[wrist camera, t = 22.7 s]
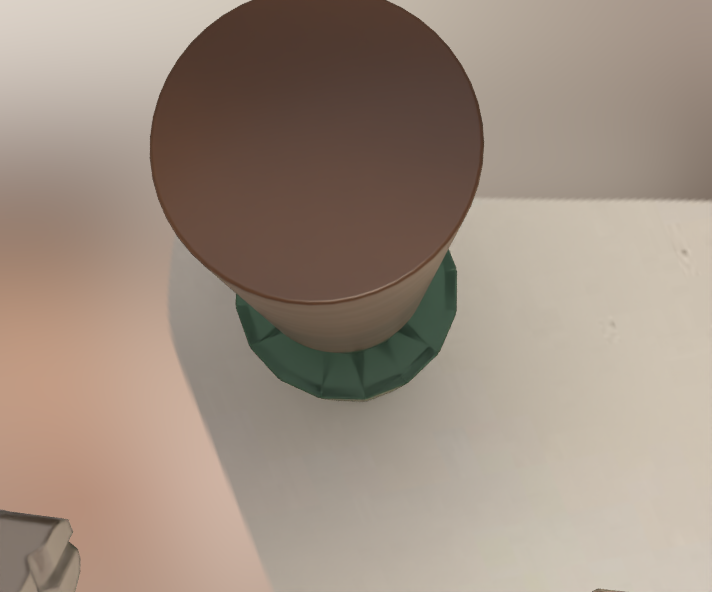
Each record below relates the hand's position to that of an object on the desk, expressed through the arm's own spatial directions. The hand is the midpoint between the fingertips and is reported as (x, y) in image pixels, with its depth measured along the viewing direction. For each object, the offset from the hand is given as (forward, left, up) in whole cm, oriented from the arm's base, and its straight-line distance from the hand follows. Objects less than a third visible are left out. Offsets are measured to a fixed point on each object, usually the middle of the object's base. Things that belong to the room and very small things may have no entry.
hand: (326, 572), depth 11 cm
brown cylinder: (+2, +6, -5) cm, 8 cm away
